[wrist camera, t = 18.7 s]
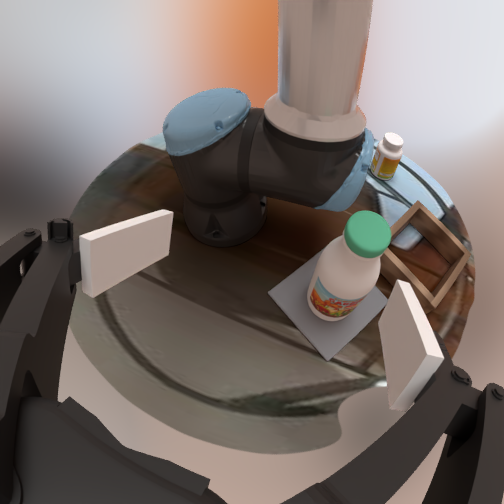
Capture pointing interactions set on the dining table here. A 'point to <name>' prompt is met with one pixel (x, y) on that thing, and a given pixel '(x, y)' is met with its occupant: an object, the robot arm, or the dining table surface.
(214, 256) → the dining table surface
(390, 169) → the supplement bottle
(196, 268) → the dining table surface
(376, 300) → the rubber mat
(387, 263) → the walnut crate
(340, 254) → the milk bottle
